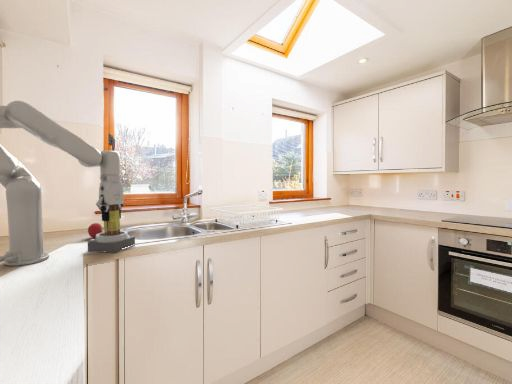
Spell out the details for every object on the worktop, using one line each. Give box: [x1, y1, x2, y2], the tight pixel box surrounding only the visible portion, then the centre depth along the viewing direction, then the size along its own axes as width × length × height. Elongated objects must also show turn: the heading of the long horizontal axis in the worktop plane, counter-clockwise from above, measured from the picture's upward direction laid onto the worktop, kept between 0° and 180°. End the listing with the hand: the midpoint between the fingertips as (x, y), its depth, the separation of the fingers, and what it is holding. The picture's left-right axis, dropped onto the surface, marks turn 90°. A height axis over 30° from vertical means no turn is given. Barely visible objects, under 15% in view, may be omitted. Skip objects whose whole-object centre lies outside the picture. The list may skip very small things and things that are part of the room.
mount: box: [87, 230, 136, 254], centre depth 115 cm, size 13×13×6 cm
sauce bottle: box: [103, 204, 121, 235], centre depth 115 cm, size 7×6×20 cm
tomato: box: [87, 222, 104, 239], centre depth 136 cm, size 8×8×8 cm
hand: (111, 219), depth 115 cm, fingers closed on sauce bottle, 6 cm apart
